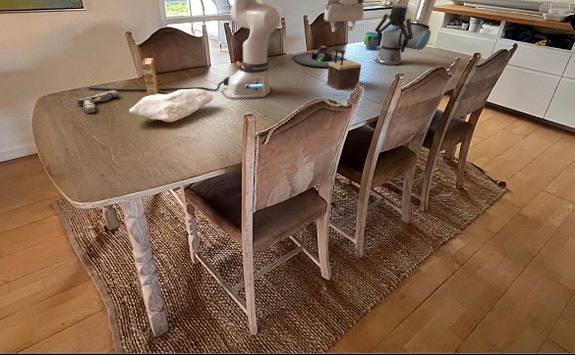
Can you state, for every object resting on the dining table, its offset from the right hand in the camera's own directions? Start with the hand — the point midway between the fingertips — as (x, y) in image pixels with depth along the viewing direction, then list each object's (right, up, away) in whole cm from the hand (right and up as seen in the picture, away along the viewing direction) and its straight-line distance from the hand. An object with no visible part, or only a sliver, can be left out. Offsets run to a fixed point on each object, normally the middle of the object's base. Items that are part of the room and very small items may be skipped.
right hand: (390, 48), depth 195 cm
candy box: (-117, -31, -28) cm, 124 cm away
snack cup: (+4, +23, +64) cm, 68 cm away
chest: (-27, -21, -6) cm, 34 cm away
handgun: (-135, -38, -39) cm, 146 cm away
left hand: (-29, +1, -22) cm, 37 cm away
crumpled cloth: (-103, -43, -46) cm, 120 cm away
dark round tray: (-35, +4, +32) cm, 48 cm away
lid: (-26, -13, -12) cm, 32 cm away
